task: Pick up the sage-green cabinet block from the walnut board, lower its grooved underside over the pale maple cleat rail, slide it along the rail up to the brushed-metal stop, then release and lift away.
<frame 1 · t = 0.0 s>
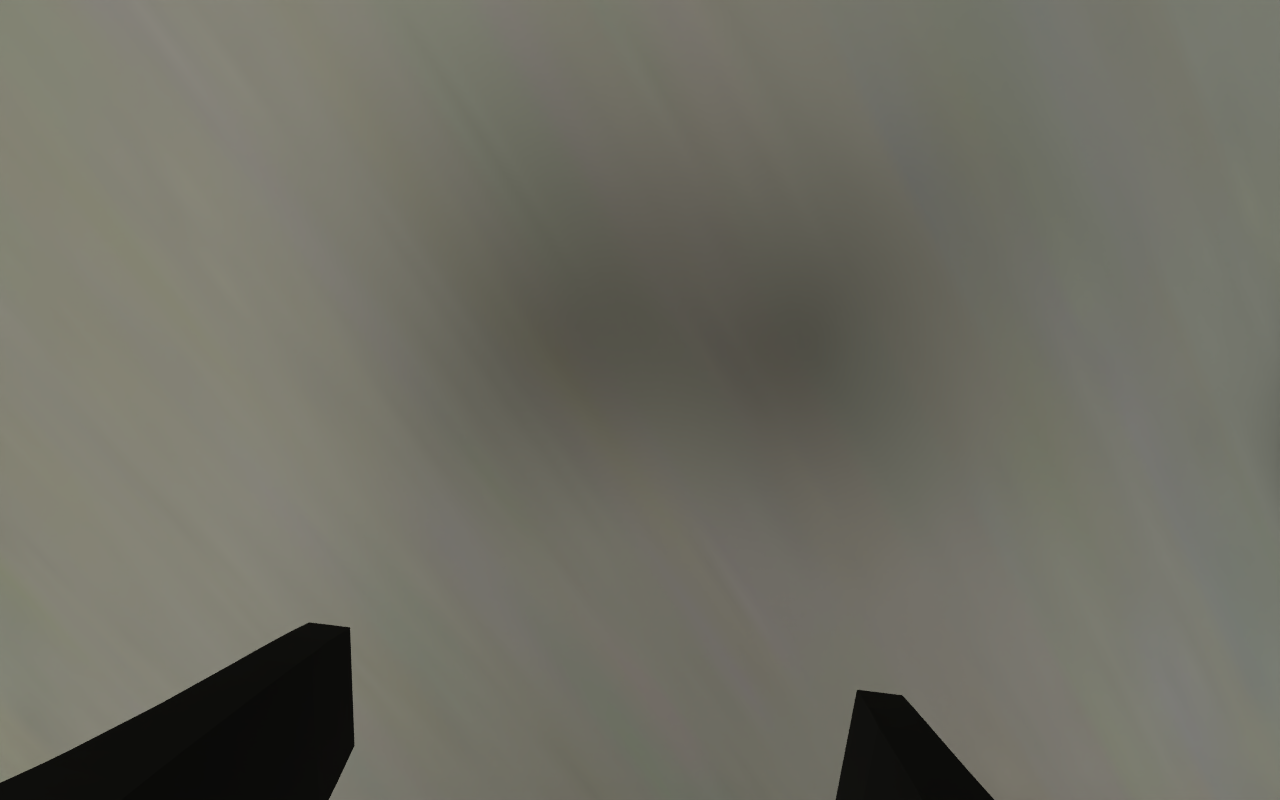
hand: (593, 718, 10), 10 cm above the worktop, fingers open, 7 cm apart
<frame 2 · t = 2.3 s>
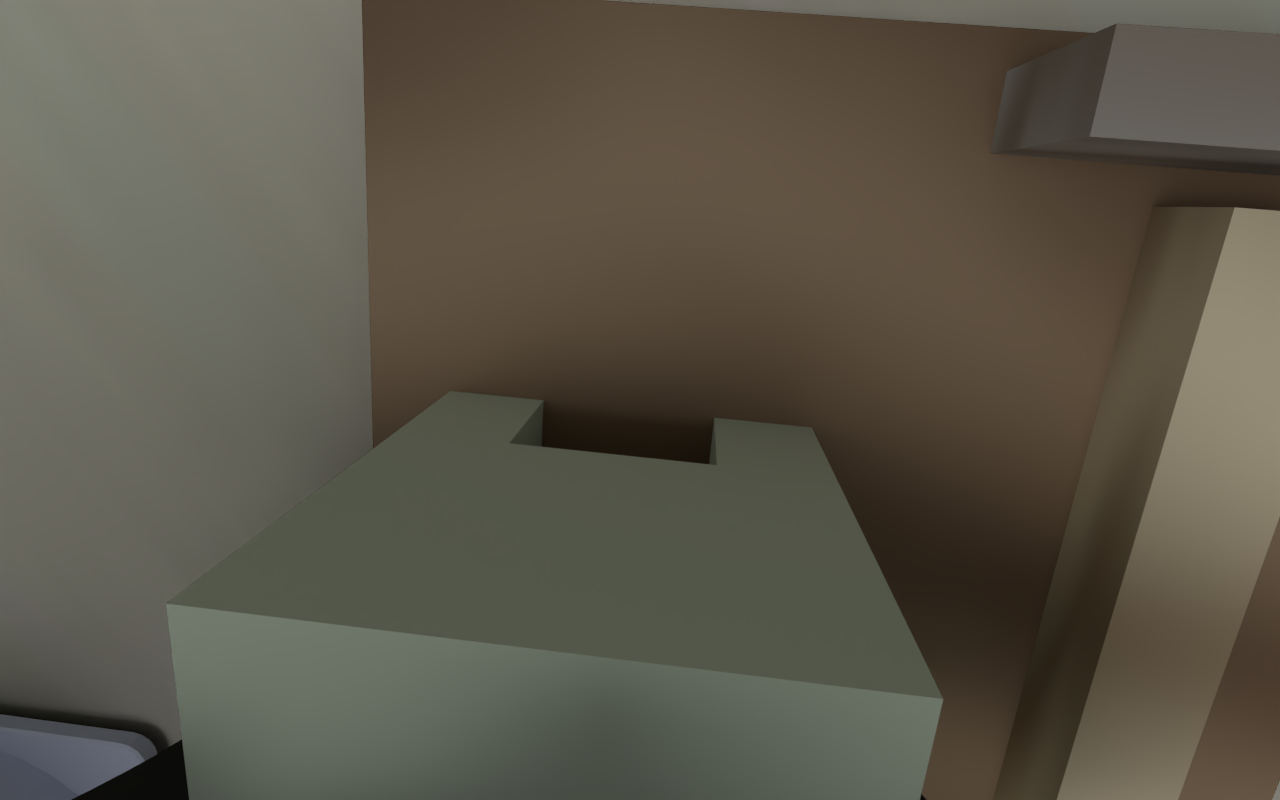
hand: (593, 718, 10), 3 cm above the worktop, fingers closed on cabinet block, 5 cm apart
cleat board: (830, 525, 12), on the worktop
cabinet block: (610, 638, 12), point 1 cm above the worktop, touching cleat board, gripper
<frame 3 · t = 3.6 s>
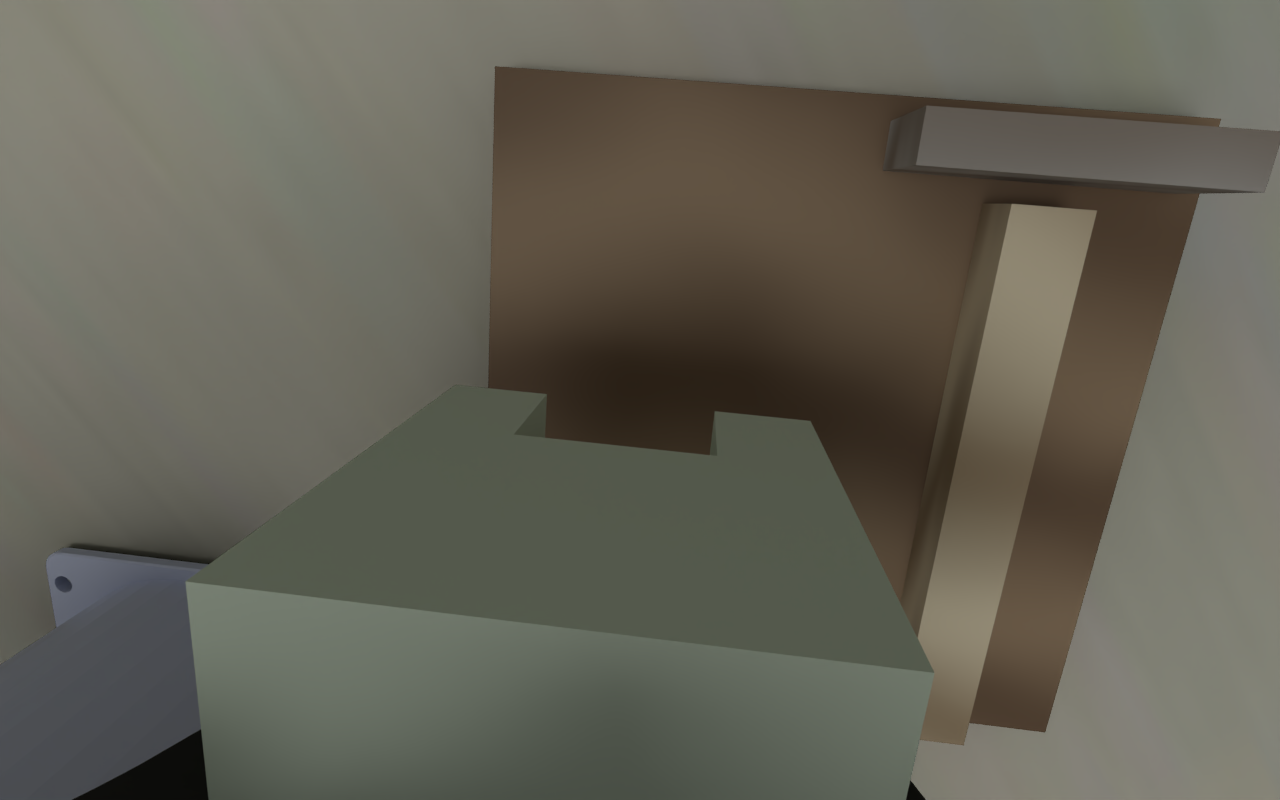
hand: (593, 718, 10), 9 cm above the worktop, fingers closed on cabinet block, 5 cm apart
cleat board: (791, 418, 18), on the worktop
cabinet block: (612, 629, 12), point 7 cm above the worktop, touching gripper
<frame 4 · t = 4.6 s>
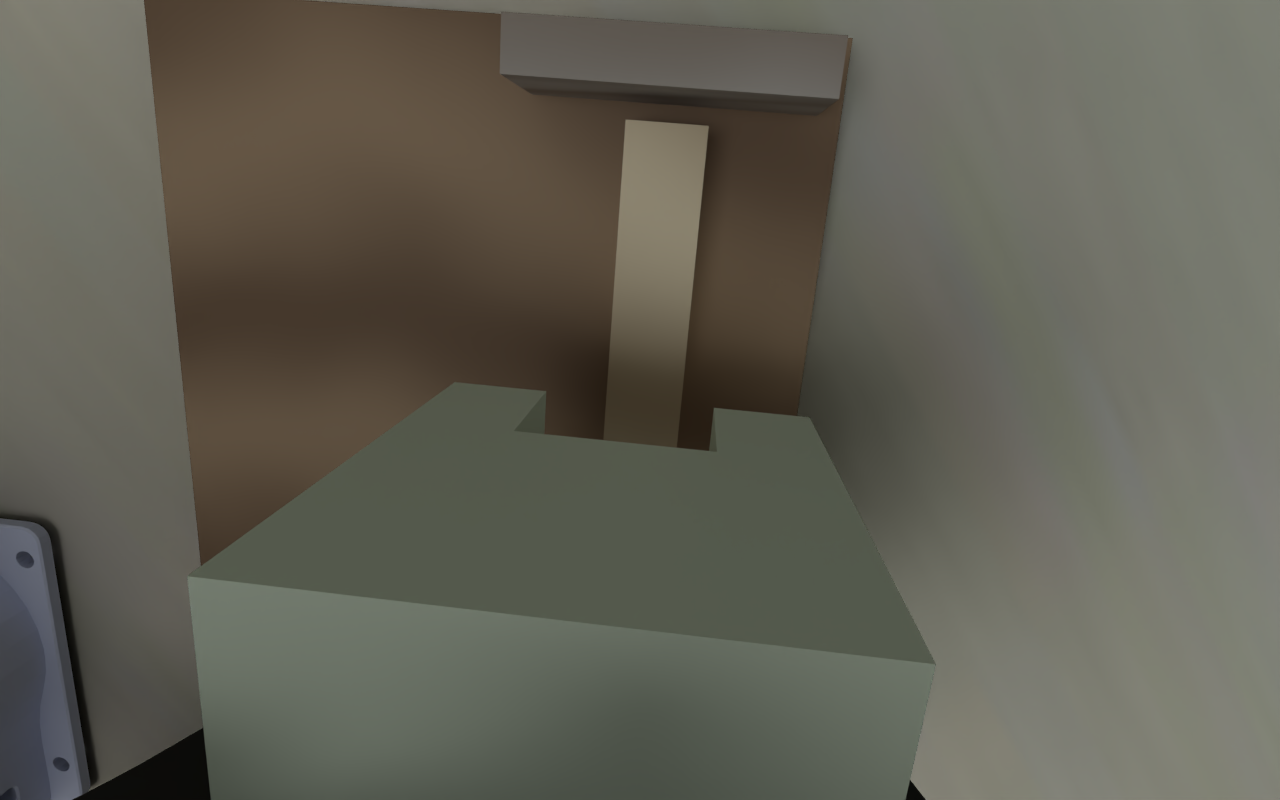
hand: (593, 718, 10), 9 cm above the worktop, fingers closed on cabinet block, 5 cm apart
cleat board: (492, 355, 18), on the worktop
cabinet block: (611, 626, 12), point 7 cm above the worktop, touching gripper
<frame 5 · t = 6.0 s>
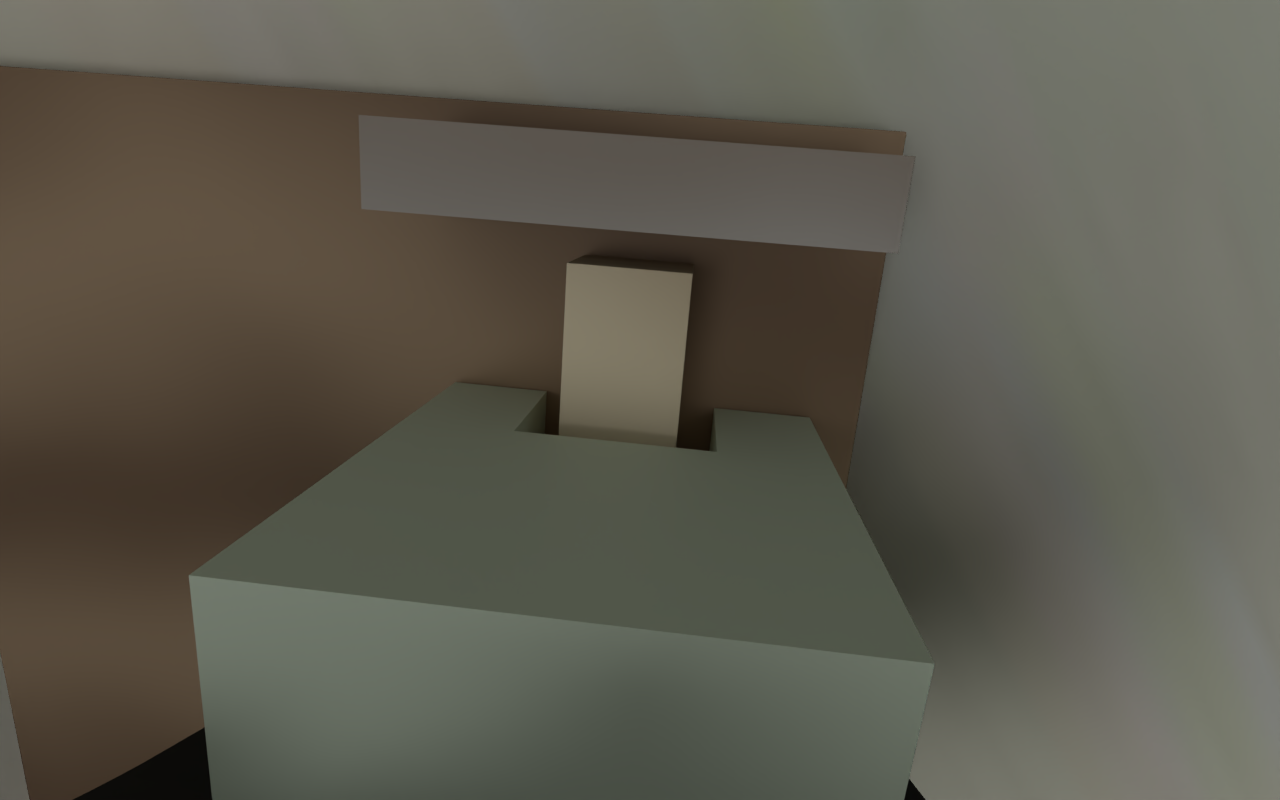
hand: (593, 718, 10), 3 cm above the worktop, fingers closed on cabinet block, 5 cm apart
cleat board: (406, 537, 13), on the worktop
cabinet block: (611, 625, 12), point 1 cm above the worktop, touching gripper
when the fingers open (3 cm above the worktop, at t = 7.1 s): cabinet block stays where it is, resting on cleat board.
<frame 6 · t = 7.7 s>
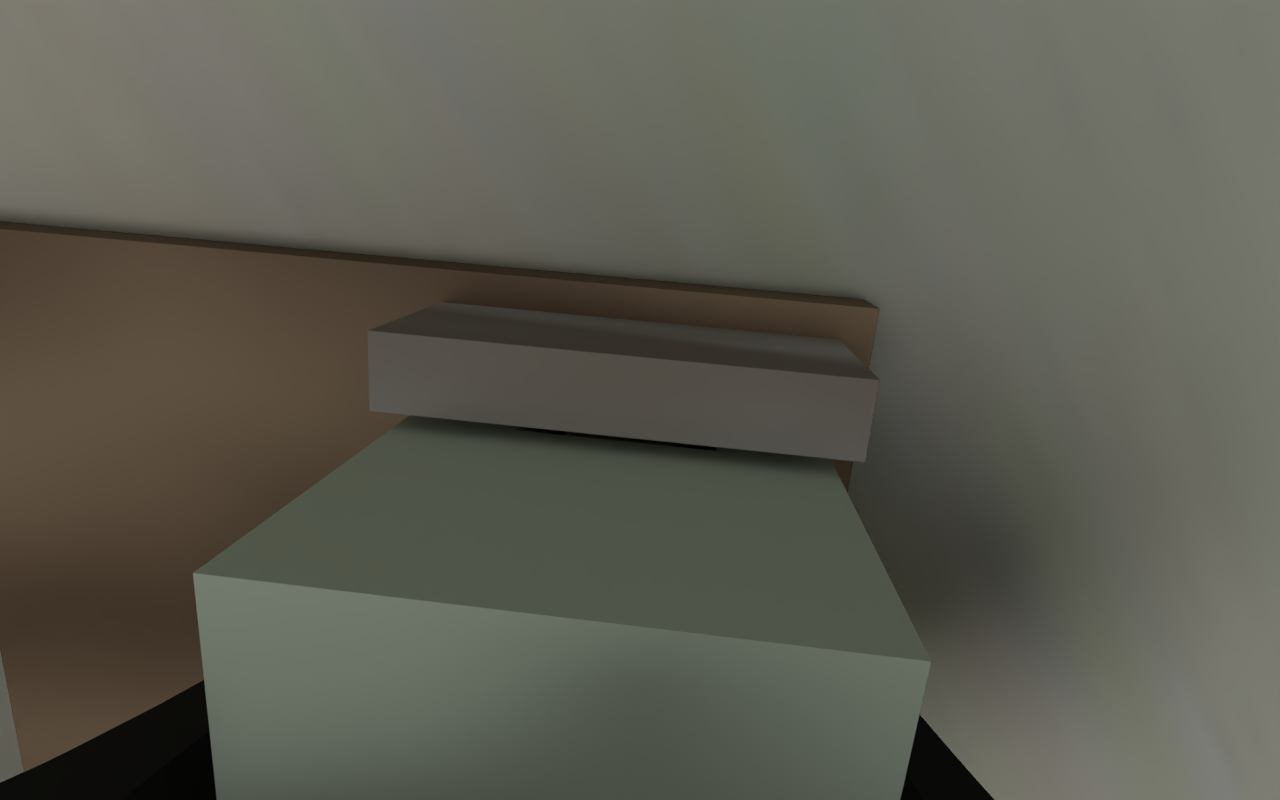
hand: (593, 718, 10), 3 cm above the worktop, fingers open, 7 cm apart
cleat board: (408, 649, 14), on the worktop
cabinet block: (612, 623, 12), point 1 cm above the worktop, touching cleat board
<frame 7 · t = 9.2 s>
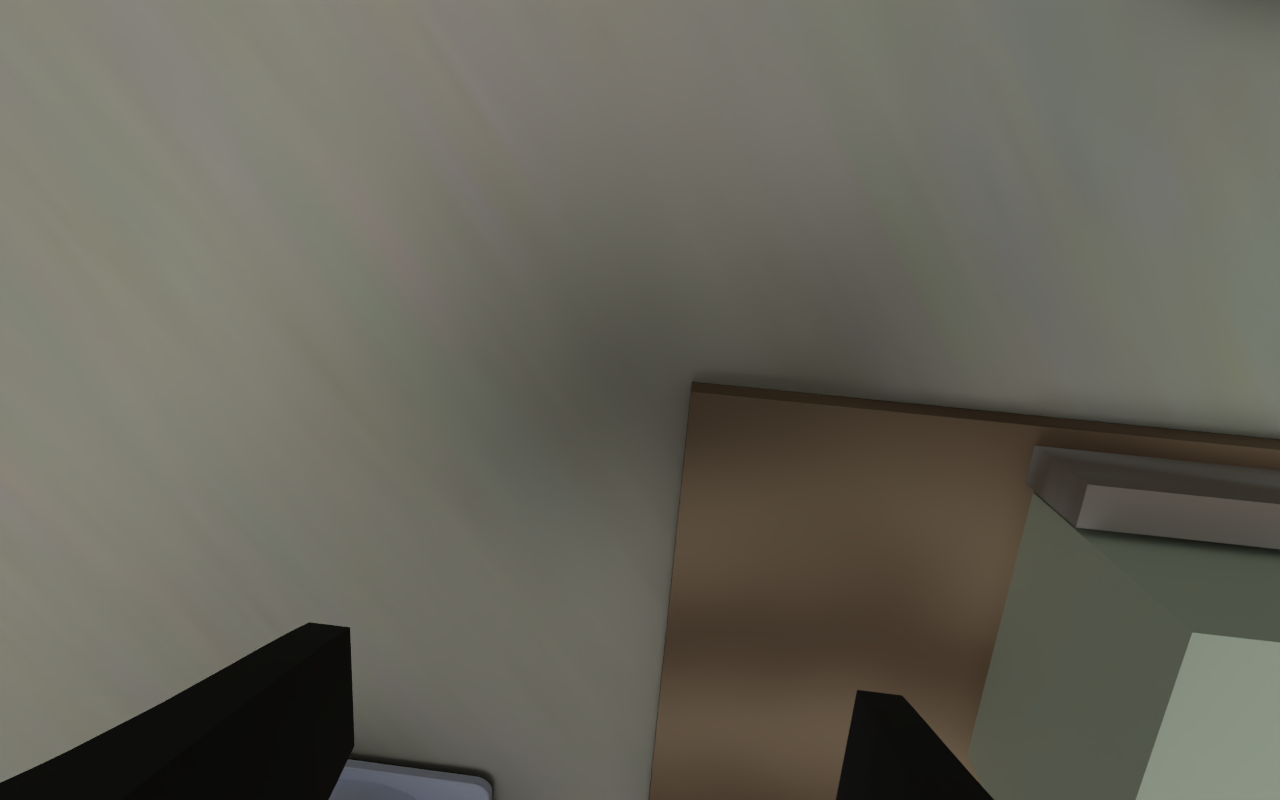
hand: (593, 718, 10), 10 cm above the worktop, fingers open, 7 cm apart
cleat board: (926, 659, 20), on the worktop
cabinet block: (1105, 643, 19), point 1 cm above the worktop, touching cleat board
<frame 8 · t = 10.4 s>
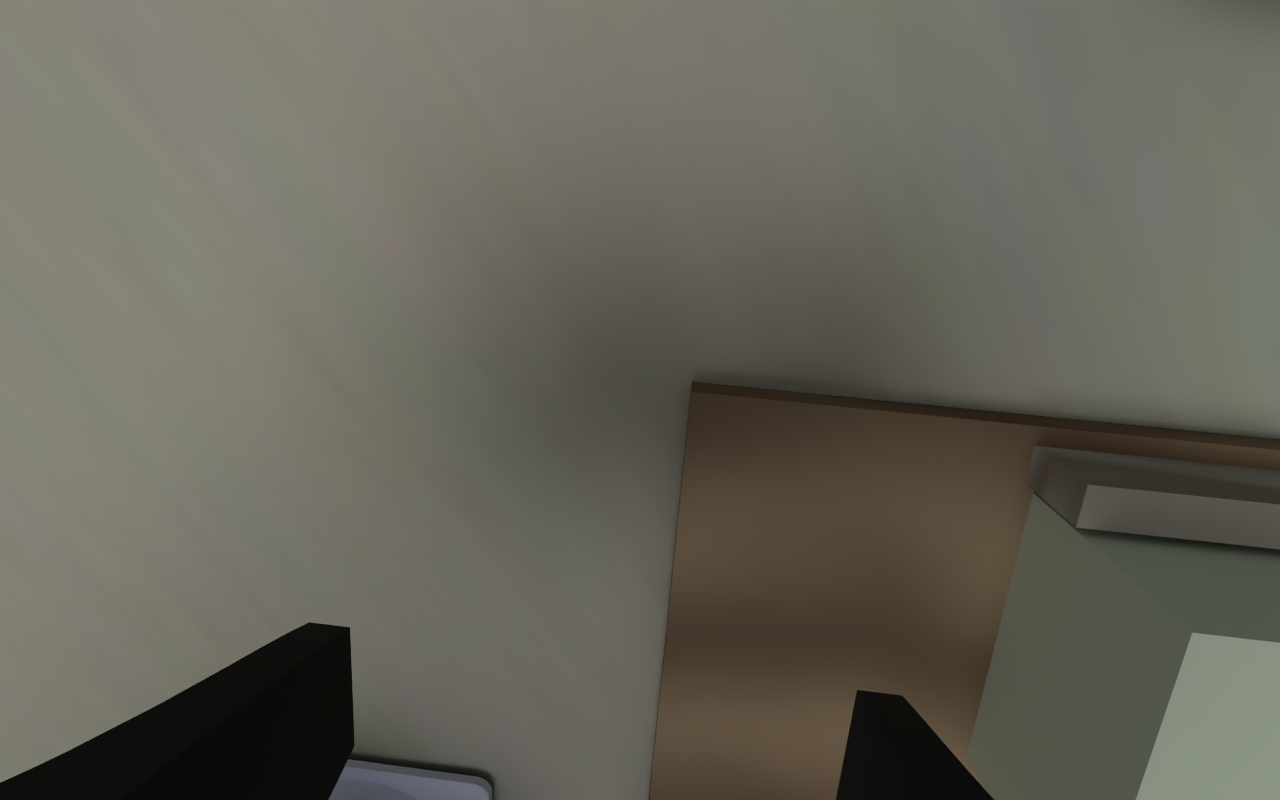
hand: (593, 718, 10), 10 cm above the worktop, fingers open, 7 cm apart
cleat board: (926, 659, 20), on the worktop
cabinet block: (1105, 644, 19), point 1 cm above the worktop, touching cleat board
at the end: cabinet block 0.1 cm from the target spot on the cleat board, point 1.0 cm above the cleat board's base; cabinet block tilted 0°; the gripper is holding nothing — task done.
